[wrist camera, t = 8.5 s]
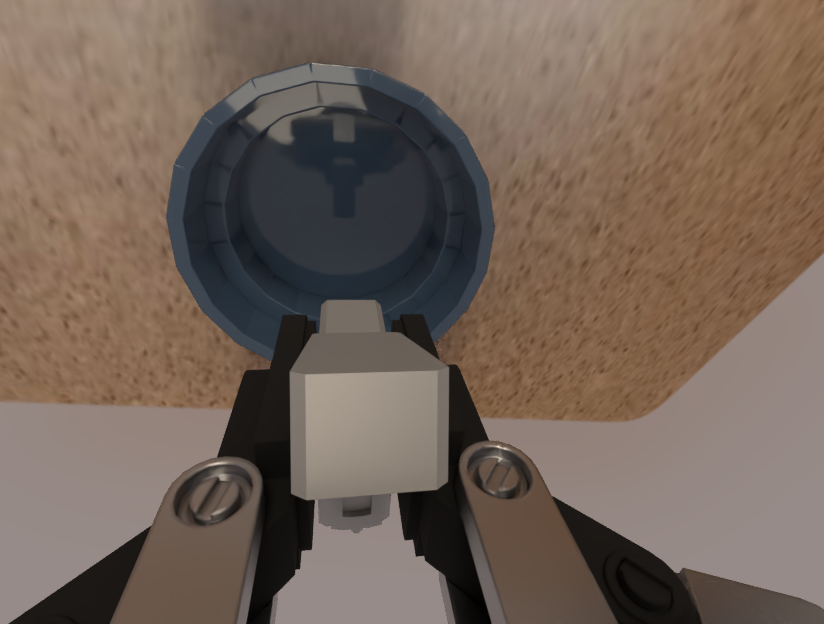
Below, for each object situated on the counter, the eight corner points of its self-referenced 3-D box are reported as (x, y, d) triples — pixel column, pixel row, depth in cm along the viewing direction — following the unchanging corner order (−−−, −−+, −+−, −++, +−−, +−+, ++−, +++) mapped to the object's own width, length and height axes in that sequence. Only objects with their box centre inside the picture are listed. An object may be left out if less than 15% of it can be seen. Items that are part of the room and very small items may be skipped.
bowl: (475, 81, 21) (522, 82, 15) (444, 314, 27) (469, 370, 22) (189, 54, 18) (129, 44, 13) (228, 314, 25) (198, 377, 19)
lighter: (375, 406, 14) (410, 712, 7) (324, 409, 14) (310, 729, 7) (385, 199, 11) (467, 406, 4) (318, 196, 11) (281, 414, 4)
